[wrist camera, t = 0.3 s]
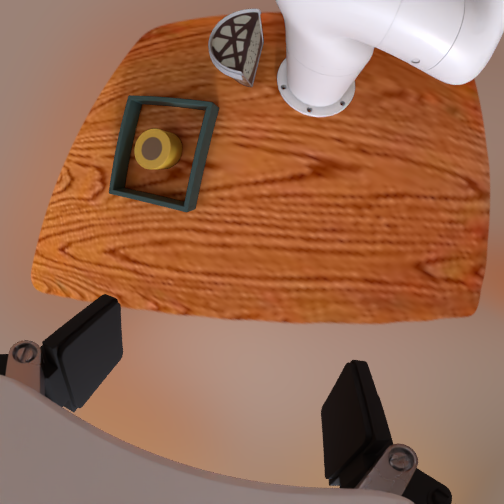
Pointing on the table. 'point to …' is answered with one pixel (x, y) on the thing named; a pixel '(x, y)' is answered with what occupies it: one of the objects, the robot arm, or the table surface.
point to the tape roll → (157, 149)
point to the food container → (238, 45)
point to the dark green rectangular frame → (127, 140)
